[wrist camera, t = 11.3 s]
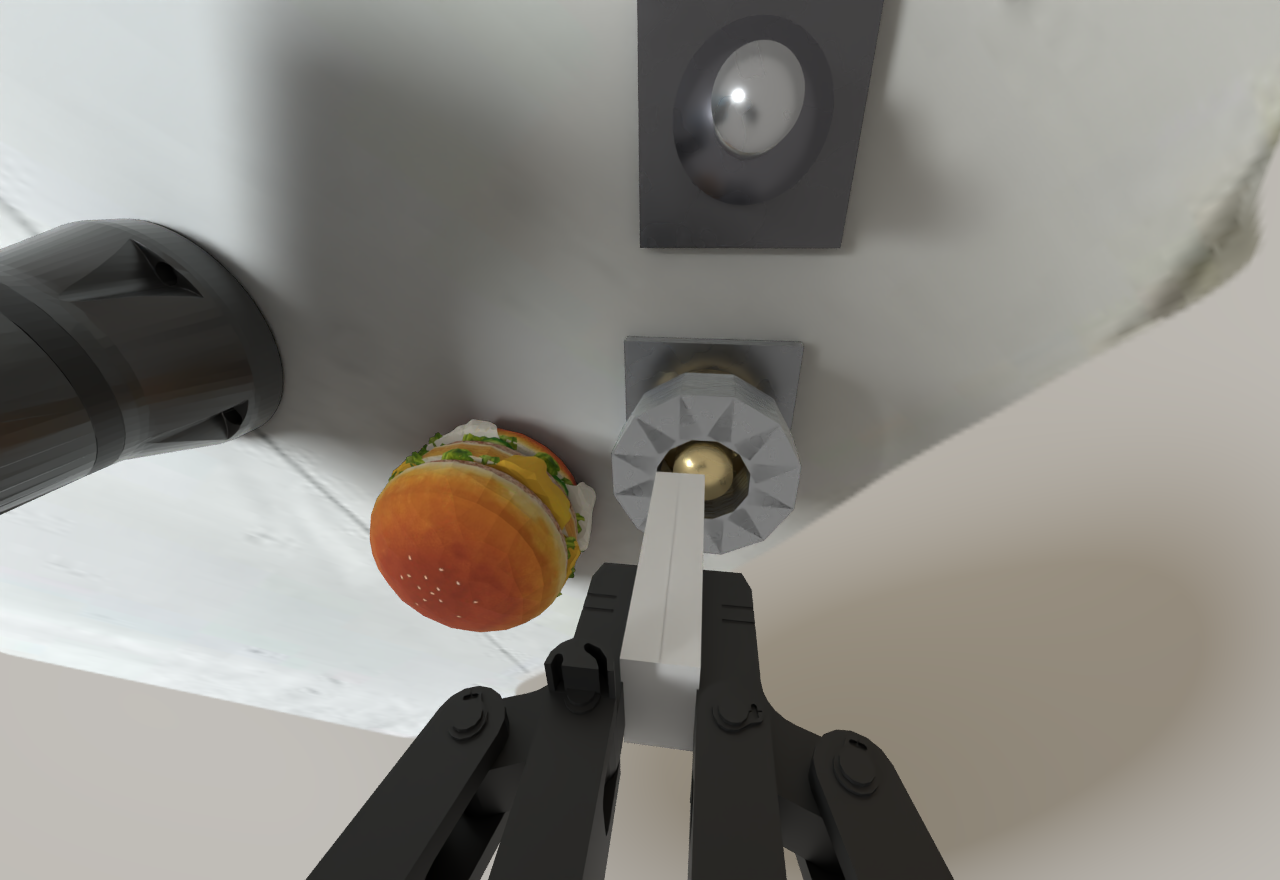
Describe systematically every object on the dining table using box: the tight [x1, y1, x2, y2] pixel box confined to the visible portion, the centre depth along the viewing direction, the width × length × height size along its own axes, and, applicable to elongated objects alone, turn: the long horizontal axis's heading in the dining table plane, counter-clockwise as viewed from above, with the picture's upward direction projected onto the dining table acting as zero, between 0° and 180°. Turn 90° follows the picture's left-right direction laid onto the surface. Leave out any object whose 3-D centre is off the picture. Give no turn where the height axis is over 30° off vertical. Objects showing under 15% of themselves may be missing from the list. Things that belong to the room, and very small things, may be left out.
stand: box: [637, 0, 884, 248], centre depth 18 cm, size 10×10×9 cm
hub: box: [624, 336, 804, 500], centre depth 26 cm, size 10×10×7 cm
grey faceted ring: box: [612, 372, 801, 554], centre depth 24 cm, size 9×9×3 cm
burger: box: [370, 419, 596, 632], centre depth 30 cm, size 14×14×10 cm
